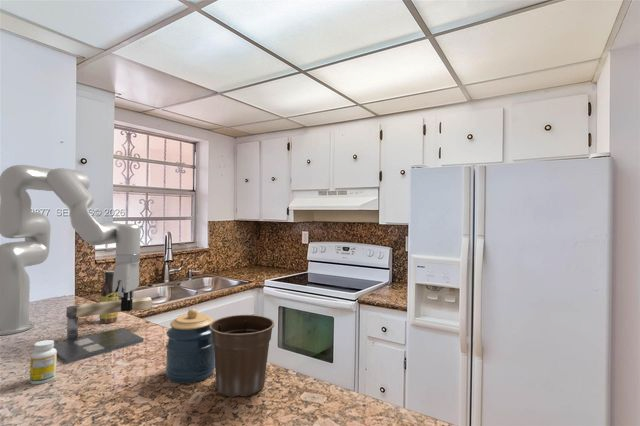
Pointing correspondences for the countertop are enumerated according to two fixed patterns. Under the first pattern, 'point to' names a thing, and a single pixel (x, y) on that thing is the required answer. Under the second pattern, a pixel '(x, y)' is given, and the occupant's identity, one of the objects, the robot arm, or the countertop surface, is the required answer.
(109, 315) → the bottle
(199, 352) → the canister
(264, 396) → the countertop surface
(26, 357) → the countertop surface
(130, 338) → the label board
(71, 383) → the countertop surface
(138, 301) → the swing arm
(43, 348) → the supplement bottle
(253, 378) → the plant pot
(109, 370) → the countertop surface
